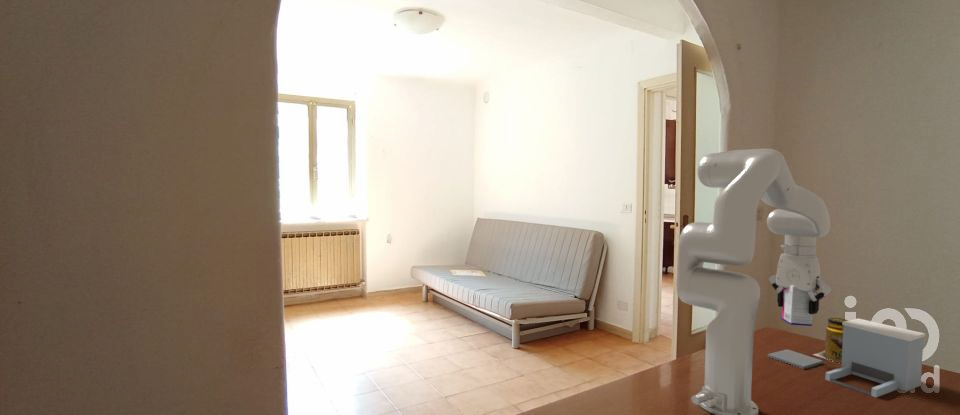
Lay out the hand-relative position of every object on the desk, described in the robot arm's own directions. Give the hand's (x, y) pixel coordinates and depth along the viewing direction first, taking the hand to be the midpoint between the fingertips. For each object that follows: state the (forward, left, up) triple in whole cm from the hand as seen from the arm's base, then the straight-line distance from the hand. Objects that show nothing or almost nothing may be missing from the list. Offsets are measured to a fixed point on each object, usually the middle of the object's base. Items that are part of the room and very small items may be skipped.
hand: (797, 309), depth 131 cm
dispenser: (+2, -17, -15) cm, 23 cm away
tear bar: (-7, -17, -15) cm, 24 cm away
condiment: (+13, -4, -16) cm, 21 cm away
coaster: (0, 0, -15) cm, 15 cm away
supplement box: (0, 0, -4) cm, 4 cm away
